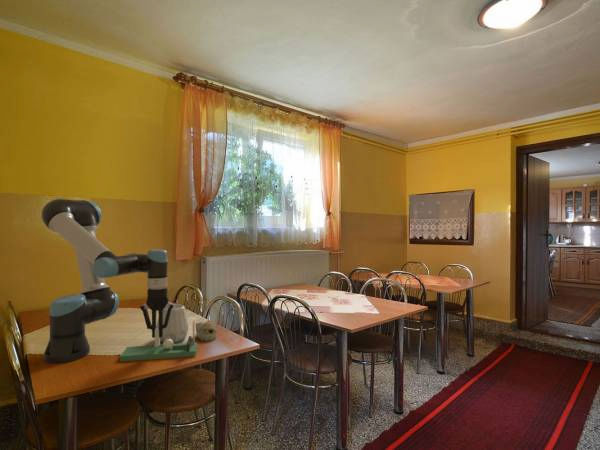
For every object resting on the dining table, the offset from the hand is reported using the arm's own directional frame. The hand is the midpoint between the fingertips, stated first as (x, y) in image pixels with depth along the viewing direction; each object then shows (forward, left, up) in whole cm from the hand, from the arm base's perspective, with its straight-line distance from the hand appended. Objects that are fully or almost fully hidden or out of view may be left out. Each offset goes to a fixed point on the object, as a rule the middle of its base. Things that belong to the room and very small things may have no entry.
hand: (157, 345), depth 138 cm
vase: (+3, +17, -4) cm, 18 cm away
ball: (+6, 0, 0) cm, 6 cm away
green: (+1, 0, -4) cm, 4 cm away
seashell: (+18, +18, -4) cm, 26 cm away
